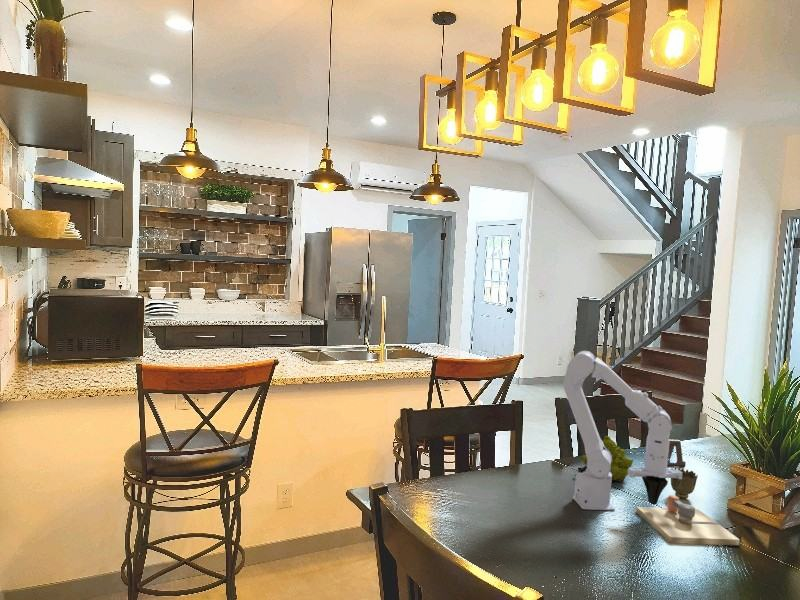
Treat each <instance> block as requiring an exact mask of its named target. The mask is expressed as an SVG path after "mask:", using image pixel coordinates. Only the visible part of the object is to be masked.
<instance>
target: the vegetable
mask: <svg viewBox="0 0 800 600" xmlns="http://www.w3.org/2000/svg"><path fill="white" fill-rule="evenodd" d="M603 437H604V438H603V440H602V441H603V443H604V446H605V448H606V449H607V450H608V451H609V452H610V453H611V455H612V463H611V469H610V473H611V474H612V481H616V480H617V481H616V482H621V481H622V482H624V480H625V479H626V477H627V476H629V475H628V468H632V466H633V462H634V459H630V458H628V457H626V451H625V448H621V446H619V445H618V444H617V443H616V442H615V441H614V440H613V439H611V437H610V436H608V435H604V436H603ZM581 458H582V460H583V462H584V466H583V467H577V472H578V473H584V472H585V471H586V469H587V456H586V454H585V455H582V456H581Z"/></svg>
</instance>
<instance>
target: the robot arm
mask: <svg viewBox="0 0 800 600" xmlns="http://www.w3.org/2000/svg"><path fill="white" fill-rule="evenodd" d="M590 374H592V375H591V378H595V379H601V380H603V381H604V382H606V383H607V384H608V385H609V386H610V387H611V388H612V389H613V390H615V391H616V392H617V393H618V394H619V395H621V396H622V397H623V398H624V404H625V406H626V407H627V408H628V409H629V410H630V411H631V412H632V413H634V414H635V415H636V416H637V417H638V418H639V419H640V420H641V421H642V422H645V423H647V428H648V431H647V432H648V435H647V436H646V441H645V443H646V445H645V454H644V465H643V466H639V467H631V468H630V467H629V468H628V475H627V476H629V477H630V478H635V477H637V478H639V477H641V478H642V481H643V483H644V486H645V490H646V494H647V498H648V499H647V500H648V502H649V503H650V504H651V505H657V503H658V500H659V498H660V496H661V494H662V492H663V491H664V490H665V488H666V487H667V485H668V483H669V481H668V479H671V478H677V479H682V472H681V471H679V470H678V469H676V470H672V469H671V468H668V466H667V463H668V452H669V439H670V432H671V431H672V429H673V426H672V420H671V417H670V415H669V414H668V413H667V411H666V410H665V409H663V407H662V406H661V405H657V404H656V403H655V402H654V401H653V400H652V399H650V398H649V393H647V392H646V391H644V392H642V391H641V390H639V389H638V390H637V389H633V388H631V387H630V386H629V385H628V384H627V383H626V382H625V381H624V380H623V379H622V377H620V376H619V375H618V374H617V373H616V372H615V371H614V370H612V368H611V367H610V366H609V365H607V363H605V362H604V361H603V360H602V359H601V358H599V357H596V356H595V354H593V352H592V351H588V350H581V351H579V352H577V353H576V354H575V356H573V357H572V358H571V359H570V361H569V363H568V364H567V366H566V371H565V375H564V379H563V382H562V385H563V386H562V387H563V389H564V392H565V396H566V398H567V401H568V404H569V406H570V408H571V409H570V410H571V411H572V415H573V418H574V419H575V420H574V421H575V424H576V425H577V428H578V431H579V434H580V437H581V440H582V442H583V445H584V452H585V456H587V469H586V471H584V472H583V473H580V472H578V473H577V474H576V475H575V480H574V489H573V490H574V491H573V496H572V499H573V500H574V501H575V502H576V503H577V505H578V506H579V507H580V508H581V509H582V510H594V511H597V510H598V511H599V510H600V511H615V510H616V508H615V507H614V506H613V505H612V504H611V503H610V502H611V501H610V500H611V491H612V481H613V480H612V474H611V473H610V469H611V463H612V455H611V453H610V452H609V451H608V450H607V449H606V448H605V446H604V443H603V440H602V438H601V436H600V434H599V431H598V429H597V426H596V423H595V420H594V417H593V414H592V411H591V408H590V406H589V403H588V401H587V399H586V396H585V393H584V389H583V387H582V386H583V383H584V381H585V380H586V378H587V377H588V376H590Z"/></svg>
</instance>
